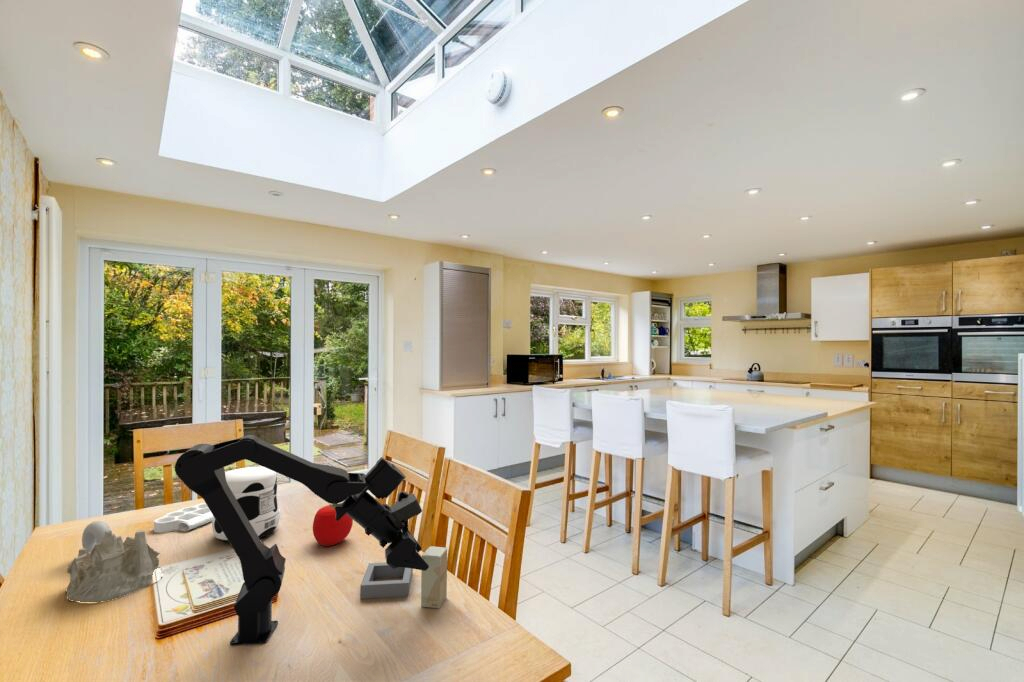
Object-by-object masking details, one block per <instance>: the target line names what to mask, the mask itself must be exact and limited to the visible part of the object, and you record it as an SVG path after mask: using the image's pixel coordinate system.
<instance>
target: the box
mask: <svg viewBox="0 0 1024 682" xmlns="http://www.w3.org/2000/svg"><path fill="white" fill-rule="evenodd" d="M421 557H422V558H423V559H424V560H425V562H426V563H427V564H428V565H429V568H428V569H427V570H426V571H424V570H421V584H420V586H421V587H420V589H421V591H420V597H421V598H420V606H421V607H424V608H425V607H426V608H433V609H440V608H441V607H442V605H443V604H444V602H445V601H446V598H447V594H448V593H447V592H448V591H447V590H448V589H447V588H448V586H447V585H448V548H447V547H442V546H433V545H430V546H429V547H428V548H427V549H426V550H425V551H424V552H423V553H422V554H421Z"/></svg>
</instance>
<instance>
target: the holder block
mask: <svg viewBox="0 0 1024 682" xmlns="http://www.w3.org/2000/svg"><path fill="white" fill-rule="evenodd" d="M413 571H414V569H412V568H404V567H398V568H395V569H393V568H392V567H390V566H389V565H388V564H387V563H386V562H372V563H371V562H370V563H368V565H367V567H366V569H365V573H364V575H363V577H362V581H361V583H360V587H359V589H360V594H359V595H360V598H359V599H361V600H363V599H364V600H365V599H366V600H369V599H382V598H383V599H384V598H400V597H401V598H402V597H403V598H405V597H409V595H410V590H411V586H412V585H411V584H412V578H413V573H414V572H413ZM400 576H401V577H400ZM402 576H403V577H402ZM388 577H391V578H402V579H394V580H393V579H392V580H391V579H390V580H375V581H374V579H389V578H388ZM410 585H411V586H410Z"/></svg>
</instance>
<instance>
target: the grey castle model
mask: <svg viewBox="0 0 1024 682" xmlns="http://www.w3.org/2000/svg"><path fill="white" fill-rule="evenodd" d="M160 554H161V553H160V552H158V551H156V550H155V549H154V548H152V547H151V546H150V545H148V542H147V538H146V531H145V530H143V529H141V530H137V531H135V534H134V537H131V536H126V537H125V540H124V541H123V539H122V535H119V536H116V534H115V533H113V532H112V529H111V530H107V531H105V535H104V537H103V542H102V543H98V544H95V546H94V548H93V550H92V552H91V553H90V552H88V553H87V552H86V549H84V548H83V547H81V548H79V550H78V555H77V556H76V557H74V558H73V560H72V561H71V563H70V564H69V565H68V566H67V567H66V570H67V571H66V572H67V574H69V578H70V579H69V580H70V581H69V583H68V585H67V587H66V589H67V591H66V590H65V593H66V592H67V595H66V598H67V597H68V599H70V600H73V601H80V602H101V601H106V602H108V601H107V600H110V601H113V600H112V599H114V600H116V599H115V598H118V599H119V597H120V598H122V596H123V597H125V596H128V595H130V594H131V593H135V592H138V591H140V590H142V589H141V588H143V587H145V588H147V587H150V586H151V585H150V584H151V580H152V575H153V572H154V570H155V569H157V568H162V567H161V566H159V565H160V563H159V562H160V560H159V558H158V556H160ZM149 585H150V586H149ZM146 586H147V587H146ZM139 589H140V590H139ZM143 589H144V588H143ZM137 590H138V591H137ZM134 591H135V592H134ZM129 593H130V594H129ZM127 594H128V595H127ZM124 595H125V596H124ZM68 599H67V600H68ZM101 603H102V602H101Z"/></svg>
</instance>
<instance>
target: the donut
mask: <svg viewBox="0 0 1024 682" xmlns="http://www.w3.org/2000/svg"><path fill="white" fill-rule="evenodd" d="M107 530H111V531H112V529H111V528H110V526H109V525H108V524H107V523H106V522H105V521H102V520H101V521H100V520H94V521H92V522H90V523H89V524H87V526H85V528H84V530H83V532H82V534H81V535H82V536H81V545H82V548H84V549H86V552H87V553H88V552H90V553H91V552H92V550H93V548H94V546H95V544H98V543H102V542H103V537H104V535H105V531H107Z"/></svg>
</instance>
